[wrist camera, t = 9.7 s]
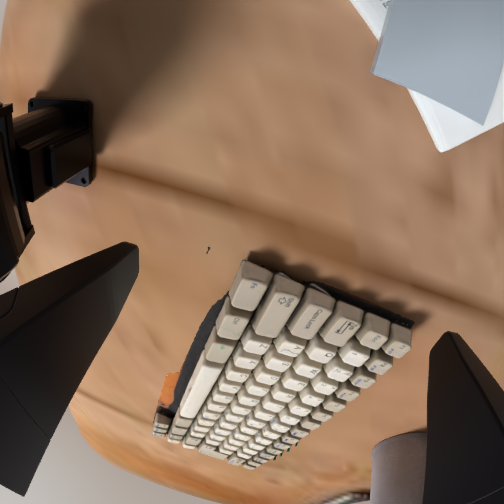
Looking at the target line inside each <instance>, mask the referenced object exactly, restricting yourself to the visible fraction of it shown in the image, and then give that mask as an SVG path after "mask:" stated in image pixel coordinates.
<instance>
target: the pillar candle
mask: <svg viewBox="0 0 504 504" xmlns="http://www.w3.org/2000/svg"><path fill="white" fill-rule="evenodd" d="M426 445H427V433H426V432H420V433H419V432H415V433H407V434H401V435H397V436H394V437H391V438H388V439H385V440H383V441H381V442H379V443H378V444H377V445H376V447H375V448H374V449H373V452H372V475H371V494H370V504H422V499H423V489H424V478H425V465H426Z"/></svg>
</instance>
